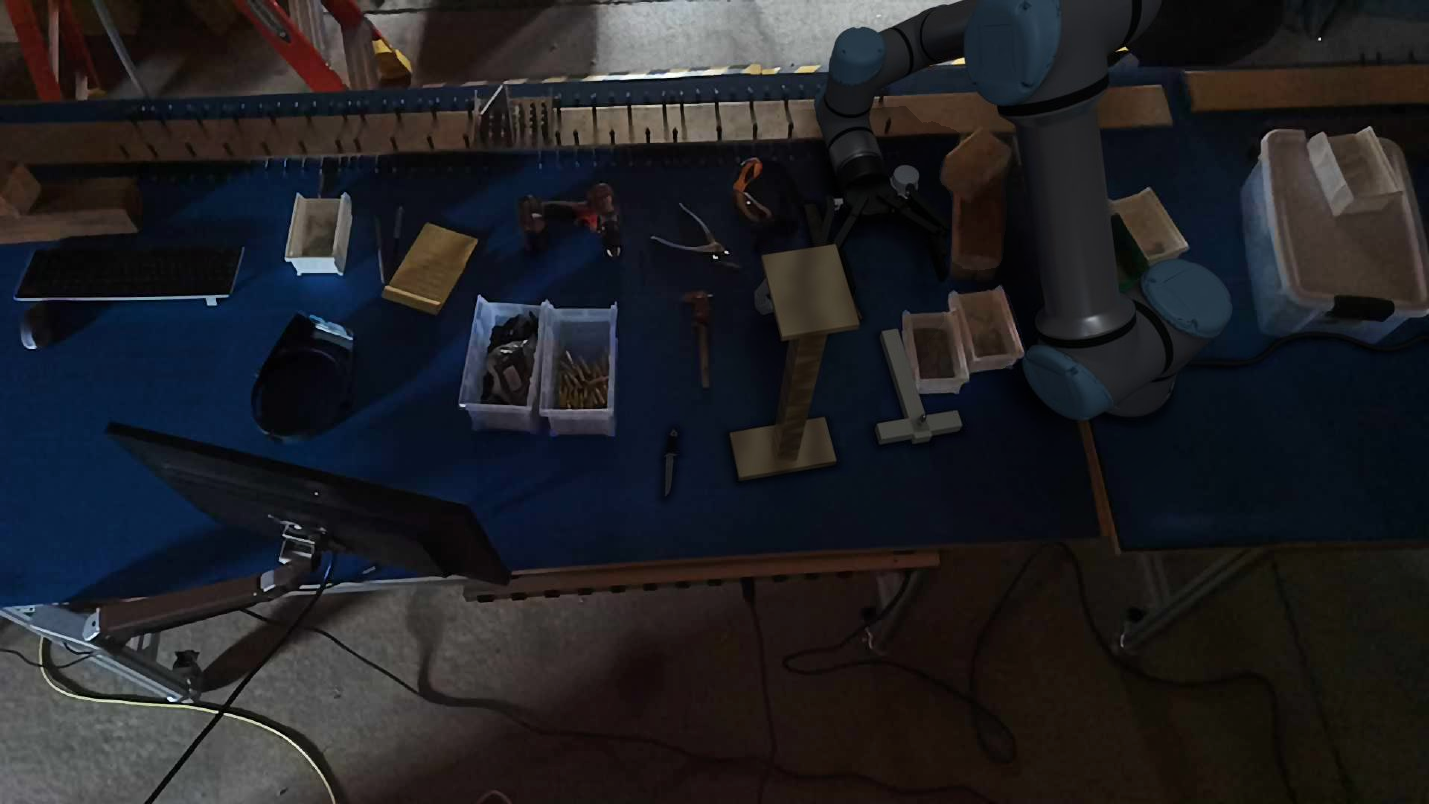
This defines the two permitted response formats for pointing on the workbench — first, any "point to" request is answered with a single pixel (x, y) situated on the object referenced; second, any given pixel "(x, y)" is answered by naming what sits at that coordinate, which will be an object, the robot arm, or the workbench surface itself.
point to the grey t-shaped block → (910, 401)
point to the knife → (670, 461)
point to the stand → (798, 361)
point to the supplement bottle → (904, 179)
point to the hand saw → (818, 232)
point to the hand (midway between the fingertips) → (898, 285)
